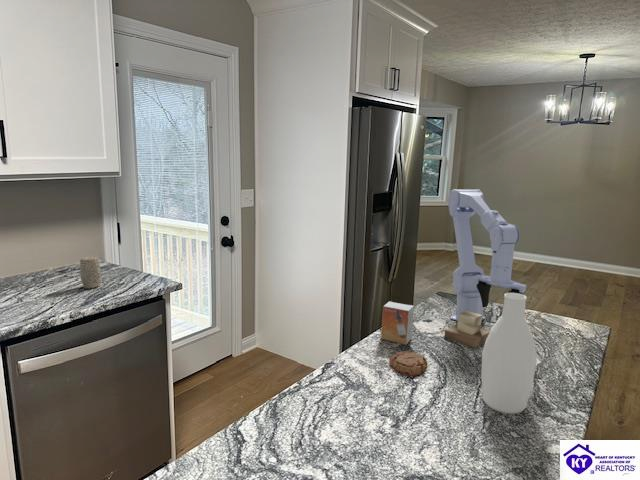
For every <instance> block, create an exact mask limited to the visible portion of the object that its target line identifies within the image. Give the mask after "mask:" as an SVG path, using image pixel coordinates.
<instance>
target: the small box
mask: <svg viewBox="0 0 640 480" xmlns="http://www.w3.org/2000/svg"><path fill="white" fill-rule="evenodd" d="M414 310H415V305H412V304H406V303H405V304H404V303H399V302H393V301H388V302H387V303H386V304H384V305H383V306H382V316H381V317H382V320H381V332H380V333H381V334H380V335H381V336H380V339H381V340H385V341H389V342H393V343H398V344H401V345H405V346H406V345H407V344H408V343H409V342H410V341H411V339H412V338H413V327H414V326H413V325H414V313H415V311H414Z"/></svg>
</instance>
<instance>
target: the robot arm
mask: <svg viewBox="0 0 640 480" xmlns="http://www.w3.org/2000/svg"><path fill="white" fill-rule="evenodd" d="M447 204H448V212H449V215H450V216H451V217H452V219H453V220H452V221H453V228H454V234H455V240H456V248H457V257H458V264H459V266H458V267H457V268H456V269H454V271H453V272H452V289H453V291H454V292H455V293H456V294H457V296H456V307H455V315H451V316H450V317H449V318H450V319H451V320H453V321H456V322H458V314H460V313H462V312H465V311H470V312H473V313H476V314H480V315H482V320H481V321H483V320H485V319H486V317H485V316H483V315H484V309H485V308H487V307H488V305H489V299H490V290H491V288H492V286H495V287H500V288H504V289H508V291H507V293H519V294H522V295H523V293H525V292H526V291H527V284H523V283H519V282H518V281H515V280H511V279H512V271H513V270H512V269H513V263H514V262H513V261H514V255H515V253H514V252H515V246H516V245H517V244H518V243H519V241H520V239H521V232H520V229H519V228H518V226H517V225H516V224H511V223H508V222H507V221H506V219H504V217H503V216H502V215H501V214H500V212H499V211H498V210H496V209H495V210H494V209H493V210H492V209H491V208H490V207H489V206H488V205H487V203H486V202H485V199H484V193H483V192H482V190H480V189H479V188H477V189H456V188H453V189H452V190H451V191H450V192H449V194H448V198H447ZM475 214H477V216H479V218H480V223H481V224H482V226H483V227H484V228H485V229H486V230H487V232H488V233H489V240H490V248H491V250H492V254H491V262H490V263H491V264H490V265H491V266H490V274H489V275H485V273H484V269H483V268H482V267H480V266H479V265H477V264H476V257H475V251H474V244H473V238H472V237H473V236H472V231H471V230H472V229H471V224H470V218H471V217H473V216H474V215H475Z"/></svg>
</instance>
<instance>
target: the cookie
mask: <svg viewBox="0 0 640 480" xmlns="http://www.w3.org/2000/svg"><path fill="white" fill-rule="evenodd" d="M388 360H389V364H390V366H392V369H393V370H395V372H397V373H400V374H401V375H403V376H409V377H415V376H420V375H422V373H425V371H426V368H427V366H428V365H429V364H428V361H427V359H426V357H425V356H424V355H422V354H419V353H415V352H411V351H409V350H407V351H401V352H396V353H395V354H393V356H391V357H390V359H388Z"/></svg>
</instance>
